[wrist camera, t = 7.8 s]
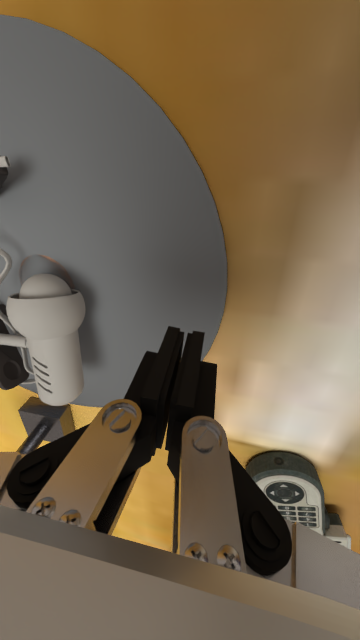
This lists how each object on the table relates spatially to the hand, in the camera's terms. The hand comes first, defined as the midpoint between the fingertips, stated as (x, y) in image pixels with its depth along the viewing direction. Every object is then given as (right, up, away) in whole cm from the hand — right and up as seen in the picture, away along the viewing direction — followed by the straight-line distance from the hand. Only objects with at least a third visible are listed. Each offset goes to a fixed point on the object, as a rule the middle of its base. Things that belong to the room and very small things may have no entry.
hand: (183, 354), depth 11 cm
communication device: (+14, -23, +20) cm, 34 cm away
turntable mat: (-11, +5, +9) cm, 15 cm away
